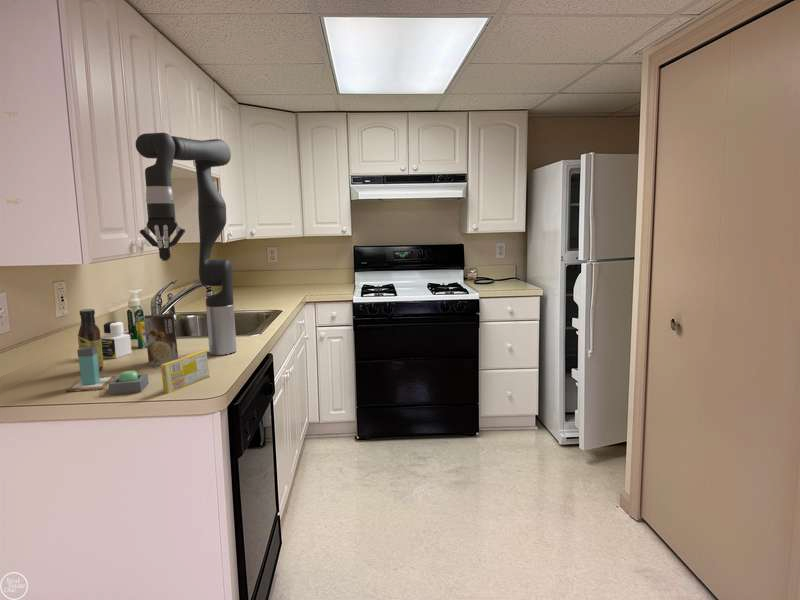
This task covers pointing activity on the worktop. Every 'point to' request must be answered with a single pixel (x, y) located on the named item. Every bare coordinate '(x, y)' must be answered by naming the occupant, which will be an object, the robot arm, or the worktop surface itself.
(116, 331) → the medicine bottle
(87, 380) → the teal and grey block
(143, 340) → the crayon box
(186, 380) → the candy box
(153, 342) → the coffee box
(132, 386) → the button housing
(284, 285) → the worktop surface
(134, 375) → the button
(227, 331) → the robot arm
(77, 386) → the clipboard
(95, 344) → the sauce bottle
